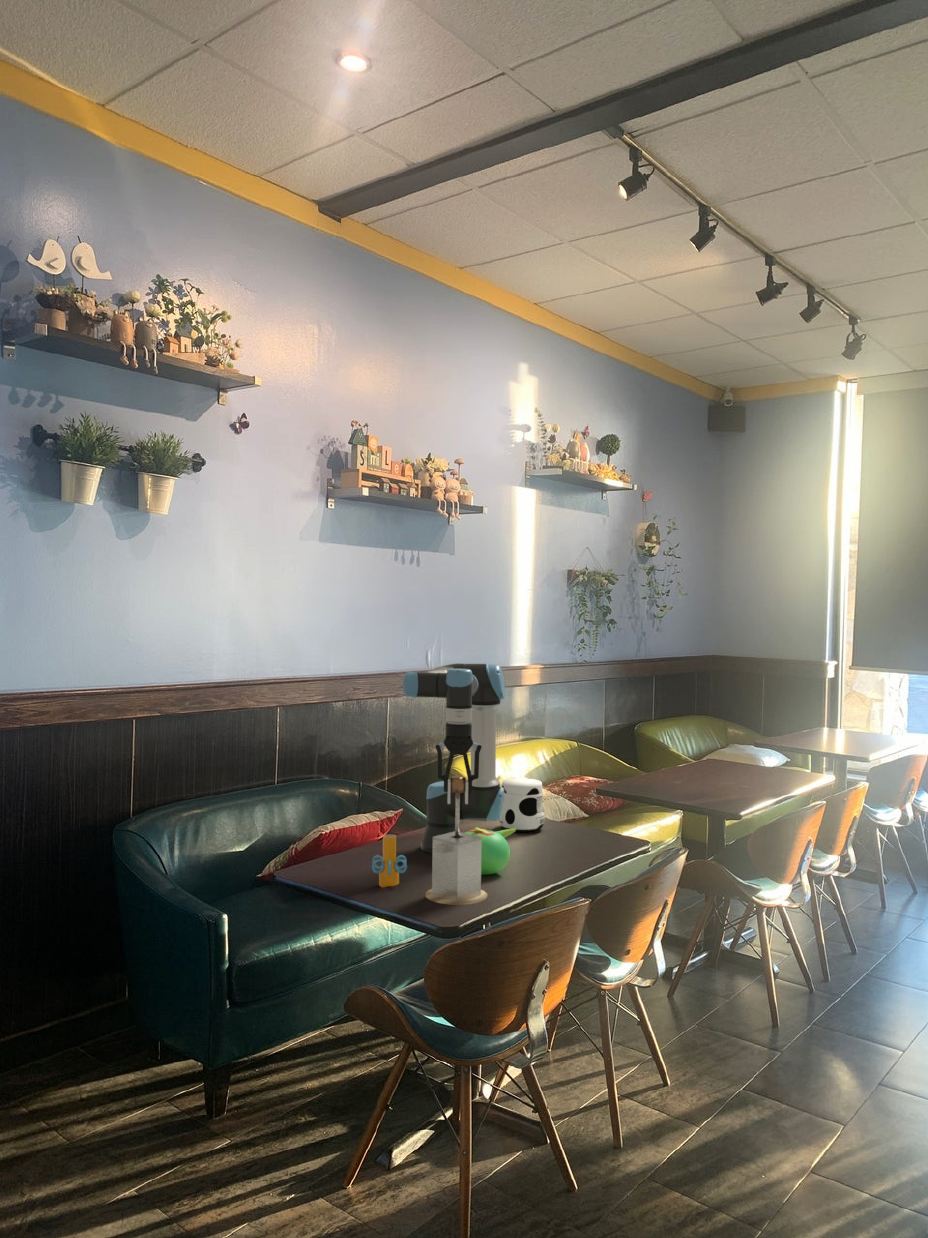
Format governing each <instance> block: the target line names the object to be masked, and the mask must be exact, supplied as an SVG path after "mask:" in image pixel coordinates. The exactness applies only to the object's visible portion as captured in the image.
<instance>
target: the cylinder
mask: <svg viewBox="0 0 928 1238" xmlns="http://www.w3.org/2000/svg"><path fill="white" fill-rule="evenodd" d="M371 861H372V865H371V869H372V871H373V873H375V874H378V886H379V887H380V888H382V889H383V888H387V887H394V886H398V885H399V884H400V874H403V873H405V872H406V871H407V868H408V864H407V861H408V860H407V857H406V856H405V855H403V854H400V855H397V834H389V833H388V834H384V835H382V855H380V854H376V855H374V856H373V857H372V859H371ZM377 863H381V865H380V866H378V865H377ZM398 863H402V865H401V866H399V865H398Z"/></svg>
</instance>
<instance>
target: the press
mask: <svg viewBox="0 0 928 1238" xmlns="http://www.w3.org/2000/svg"><path fill="white" fill-rule="evenodd" d="M481 844H482V837H480V836H475V835H471V834H467V833H465V832H462V831H461V832H459V838H458V839H456V838H455V831H454V832H450V833H446V834H442V835H438V836H434V837H433V853H431V854H432V857H431V858H432V860H431V861H432V862H431V863H432V868H431V870H432V871H431V873H432V874H431V889H432V895H435V896H438V897H441V898H444V899H448V900H451V901H454V902H460V901H463V900H466V899H469V898H472V897H475V896H478V895H481V890H482V875H481Z"/></svg>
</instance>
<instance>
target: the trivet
mask: <svg viewBox="0 0 928 1238" xmlns="http://www.w3.org/2000/svg"><path fill="white" fill-rule="evenodd" d="M424 895H425V897H426V898H427V900H430V901H432V902H433V903H438V904H443V905H450V906H453V905H454V906H463V905H464V906H465V905H466V906H467V905H472V904H473V905H474V904H478V903H480V902H483V901H484V900H487V898H488V893H487V892H486V891H485V890H483V889H481V895H478V896H475V897H472V898H469V899H466V900H463V901H460V902H454V901H451V900H448V899H444V898H441V897H438V896H435V895H432V888H431V889H428V890H427V891H426V892H425V894H424Z"/></svg>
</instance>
